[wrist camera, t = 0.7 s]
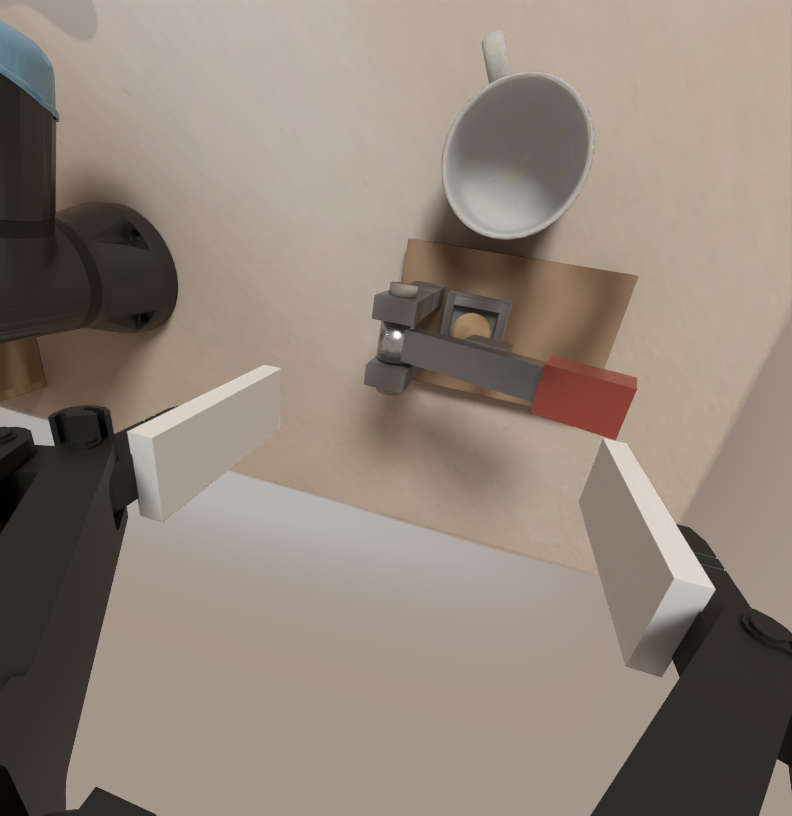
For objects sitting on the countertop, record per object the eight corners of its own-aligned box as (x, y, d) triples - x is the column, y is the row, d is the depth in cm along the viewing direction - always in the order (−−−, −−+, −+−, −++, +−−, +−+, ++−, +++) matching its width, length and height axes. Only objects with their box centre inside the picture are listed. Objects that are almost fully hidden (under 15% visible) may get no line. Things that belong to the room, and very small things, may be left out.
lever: (397, 349, 34) (367, 359, 30) (403, 311, 33) (372, 317, 29) (618, 416, 27) (615, 440, 23) (636, 371, 26) (636, 388, 22)
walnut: (450, 343, 39) (444, 352, 36) (457, 307, 38) (452, 312, 35) (486, 351, 39) (484, 360, 36) (495, 314, 37) (494, 320, 34)
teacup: (573, 234, 37) (589, 230, 30) (455, 246, 40) (444, 246, 33) (583, 46, 32) (605, -12, 25) (449, 76, 35) (433, 32, 28)
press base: (393, 369, 46) (340, 423, 32) (412, 239, 41) (360, 233, 26) (581, 411, 42) (619, 494, 28) (632, 274, 37) (711, 291, 22)
